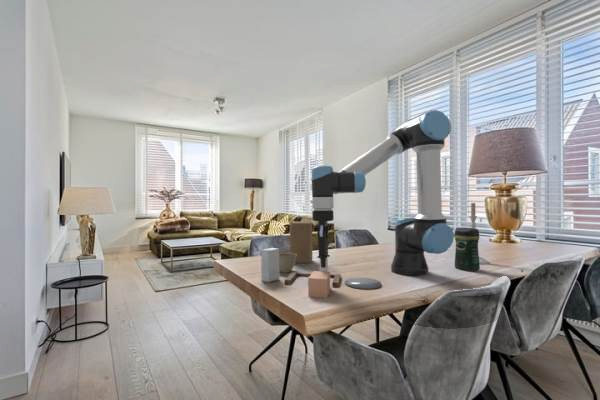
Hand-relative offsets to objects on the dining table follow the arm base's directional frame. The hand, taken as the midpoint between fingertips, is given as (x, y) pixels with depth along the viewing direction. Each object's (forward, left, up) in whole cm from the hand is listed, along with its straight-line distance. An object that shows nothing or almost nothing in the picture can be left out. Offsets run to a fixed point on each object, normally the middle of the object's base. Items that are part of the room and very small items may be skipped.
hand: (323, 275), depth 108 cm
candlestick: (-69, -59, -4) cm, 91 cm away
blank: (+1, +6, -4) cm, 8 cm away
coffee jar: (-60, -40, -4) cm, 72 cm away
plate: (-14, -6, -4) cm, 15 cm away
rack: (+5, -8, -4) cm, 10 cm away
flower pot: (+19, -21, -4) cm, 29 cm away
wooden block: (+16, -42, -4) cm, 46 cm away
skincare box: (+21, -5, -4) cm, 23 cm away
